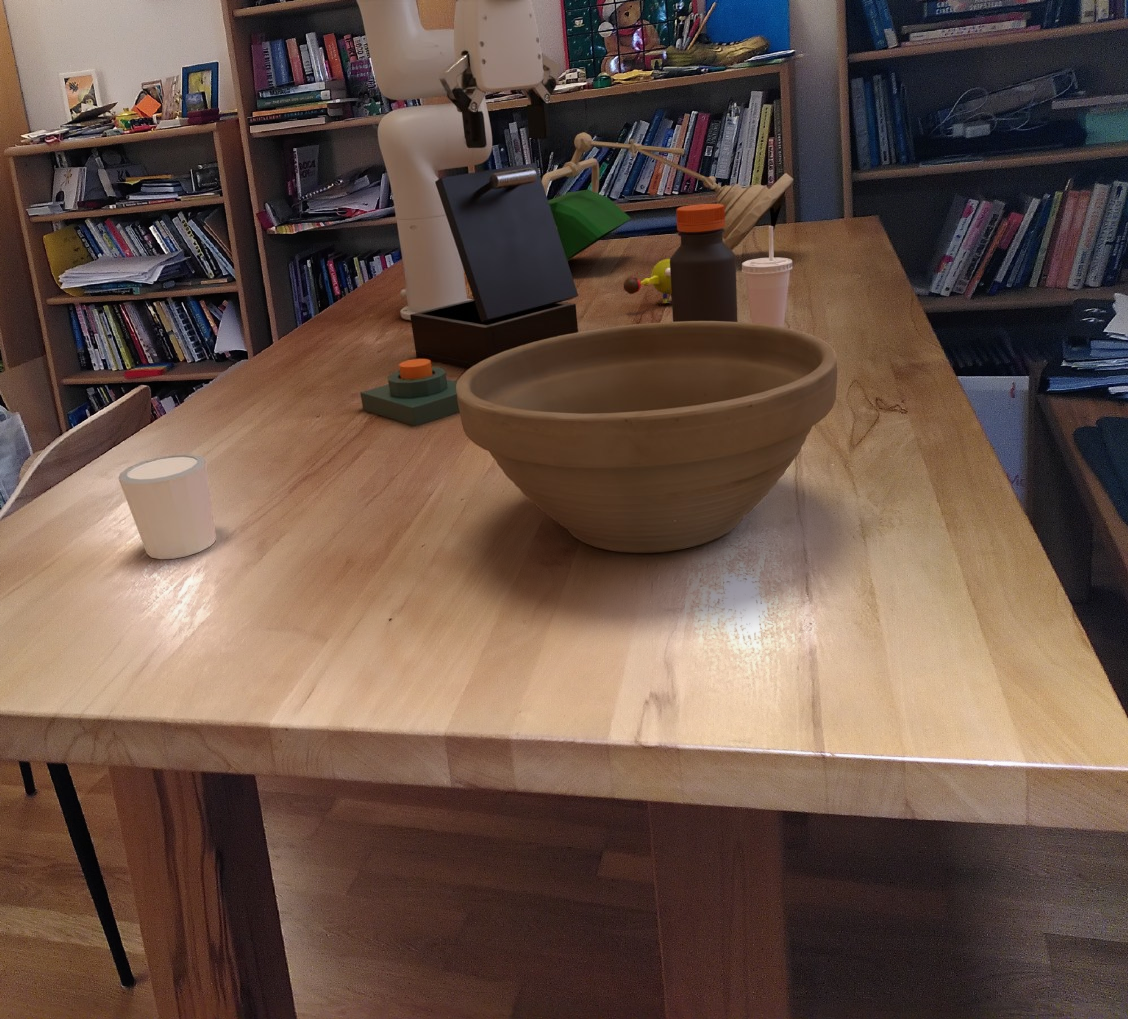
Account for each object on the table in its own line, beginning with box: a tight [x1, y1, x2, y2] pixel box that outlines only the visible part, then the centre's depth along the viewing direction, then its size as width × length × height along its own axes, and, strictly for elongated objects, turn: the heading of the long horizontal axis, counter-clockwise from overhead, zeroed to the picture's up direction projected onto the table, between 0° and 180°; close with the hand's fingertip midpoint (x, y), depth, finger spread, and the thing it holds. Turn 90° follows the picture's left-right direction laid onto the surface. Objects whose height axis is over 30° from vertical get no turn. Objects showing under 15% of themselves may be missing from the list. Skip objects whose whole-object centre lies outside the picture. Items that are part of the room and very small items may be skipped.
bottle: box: [669, 203, 739, 322], centre depth 110 cm, size 7×7×20 cm
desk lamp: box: [541, 132, 794, 262], centre depth 191 cm, size 35×42×39 cm
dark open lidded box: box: [410, 298, 579, 370], centre depth 140 cm, size 17×15×6 cm
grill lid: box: [435, 162, 579, 322], centre depth 130 cm, size 18×15×6 cm
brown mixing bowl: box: [456, 321, 838, 554], centre depth 81 cm, size 28×28×13 cm
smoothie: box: [741, 225, 793, 328], centre depth 133 cm, size 6×6×14 cm
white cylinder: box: [117, 453, 217, 560], centre depth 86 cm, size 7×7×7 cm
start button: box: [398, 358, 433, 380], centre depth 118 cm, size 4×4×2 cm
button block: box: [359, 366, 460, 427], centre depth 119 cm, size 11×9×4 cm
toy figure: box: [623, 258, 672, 306], centre depth 160 cm, size 18×6×7 cm, turn 131°
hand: (508, 142), depth 126 cm, fingers open, 9 cm apart
